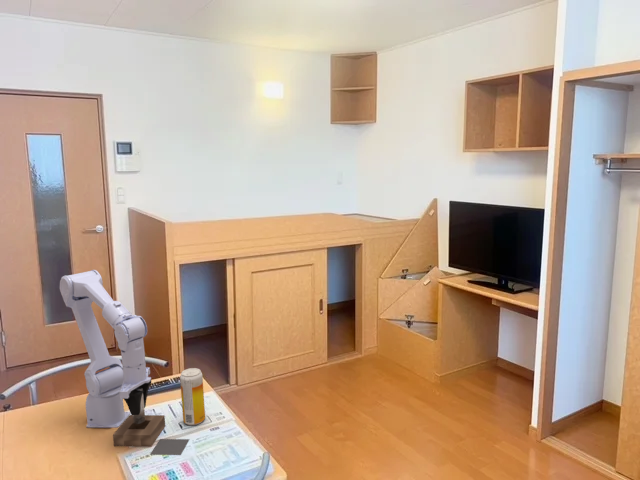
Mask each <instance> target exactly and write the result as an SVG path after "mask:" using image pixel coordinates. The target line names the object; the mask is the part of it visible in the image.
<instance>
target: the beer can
mask: <svg viewBox="0 0 640 480" xmlns="http://www.w3.org/2000/svg"><path fill="white" fill-rule="evenodd" d="M179 382H180V395H181V408H182V409H181V411H182V421H183V423H184V424H186V425H187V426H197V425H200V424H201V423H203V422H204V420H205V419H206V410H205V407H206V406H205V396H204V395H205V394H204V393H205V392H204V381H203V373H202V371H201V369H200V368H196V367H191V368H190V367H189V368H187V369H184V370H182V372H181V373H180V377H179Z"/></svg>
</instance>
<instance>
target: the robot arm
mask: <svg viewBox="0 0 640 480" xmlns="http://www.w3.org/2000/svg"><path fill="white" fill-rule="evenodd" d="M59 292H60V294H61V296H62V300H63V302H64V304H65V306H66V308H71V310H72V311H71V312H72V313H73V316H74V318H75V322H76V324H77V328H78V329H79V332H80V335H81V338H82V340H83V341H82V342H83V343H84V346H85V349H86V352H87V354H88V357H89V359H90V363H89V365H88V367H87V368H86V369H85V371H84V372H83V373H84V377H85V386H86V389H87V391H88V395H87V397H86V400H85V411H86V412H85V413H86V420H87V424H86V425H85V426H86V428H95V429H96V428H100V429H103V428H106V429H107V428H109V429H110V428H111V429H112V428H116V429H118V428H119V427H120V426H121V425H122V423H123V422H124V421H125V420H126V419H127V418H128V416H129V415H139V414H140V408H141V397H142V394H143V398H144V409H145V408H146V403H147V398H148V392H149V389H150V386H151V385H152V377H151V376H150V374H151V368H150V367H148V366H146V353H145V342H144V338H145V337H146V336H147V335H148V326H147V322H146V321H145V319H144V318H143V316H141V315H136V314H132V312H130V311H129V309H128V308H127V307H126V306H125V305H124V304H123V303H122V302H121V301H119V300H114V299H113V298H112V297H111V295H110V294H109V293H108V291H107V290H106V289H105V287H104V282H103V278H102V276H101V273H99V271H98V270H97V269H91V270H89V271H84V272H83V271H82V272H79V273H73V274H69V275H63V276H61V278H60V280H59ZM93 303H94V304H95V305H97V306H98V307H99V308H100V309H101V310H102V311H101V315H102V317H103V318H104V320H105V321H106V322H107V323H108V324H109V325H110V326H111V328H112V329H113V330H114V331H113V332H114V337H115V339H116V342H117V347H118V349H119V350H120V354H121V359H120V358H118V357H114V356H112V355H110V353H109V351H108V347H107V345H106V342H105V339H104V336H103V334H102V331H101V329H100V326H99V324H98V320H97V318H96V316H95V313H94V310H93V307H92V304H93ZM137 387H142V388H143V390H137V389H136V388H137ZM124 403H125V404H126V405H127V407H128V411H125V406H124Z"/></svg>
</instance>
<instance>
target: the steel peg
mask: <svg viewBox="0 0 640 480" xmlns="http://www.w3.org/2000/svg"><path fill="white" fill-rule="evenodd" d="M136 389H137V390H143V388H142V387H137V388H136ZM145 415H146V412H145V408H144V398H143V394H142V397H141V408H140V414H139V415H133V421H134V423H135V424H140V423H143V422H144V421H145Z"/></svg>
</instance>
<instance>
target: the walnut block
mask: <svg viewBox="0 0 640 480" xmlns="http://www.w3.org/2000/svg"><path fill="white" fill-rule="evenodd" d="M165 417H166V416H165V415H158V414H150V415H149V414H148V415H147V414H145V421H144V422H143V423H140V424H135V423H134V421H133V415H131V414H130V415H129V416H128V417H127V418H126V419H125V421H124V422H123V423H122V424H121V425H120V427H118V428H116V430H115V432H114V433H113V434H112V440H113V446H114V447H137V448H138V447H140V448H141V447H142V448H143V447H144V448H145V447H147V448H149V447H150V448H151V447H152V446H153V445H154V444H155V442H156V440H157V439H158V438H159V436H160V435H161V433H162V432H163V431H164V429H165V427H166V420H165V419H166V418H165Z"/></svg>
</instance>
